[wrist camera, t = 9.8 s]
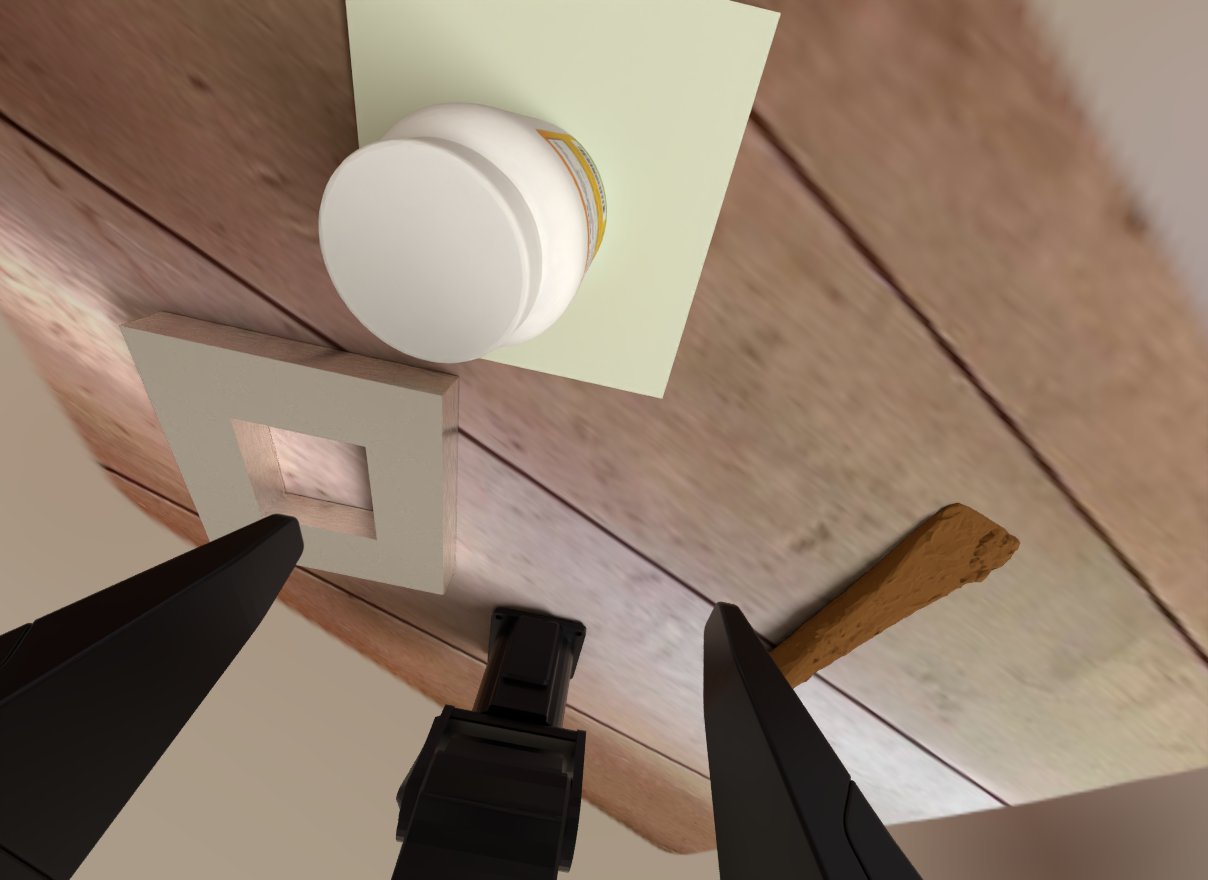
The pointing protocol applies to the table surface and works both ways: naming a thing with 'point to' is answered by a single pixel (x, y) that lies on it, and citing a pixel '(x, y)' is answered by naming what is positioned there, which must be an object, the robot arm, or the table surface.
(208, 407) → the post foot
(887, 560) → the primitive tool
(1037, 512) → the table surface
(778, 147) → the table surface
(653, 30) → the sage pad
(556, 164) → the supplement bottle
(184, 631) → the robot arm
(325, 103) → the table surface
